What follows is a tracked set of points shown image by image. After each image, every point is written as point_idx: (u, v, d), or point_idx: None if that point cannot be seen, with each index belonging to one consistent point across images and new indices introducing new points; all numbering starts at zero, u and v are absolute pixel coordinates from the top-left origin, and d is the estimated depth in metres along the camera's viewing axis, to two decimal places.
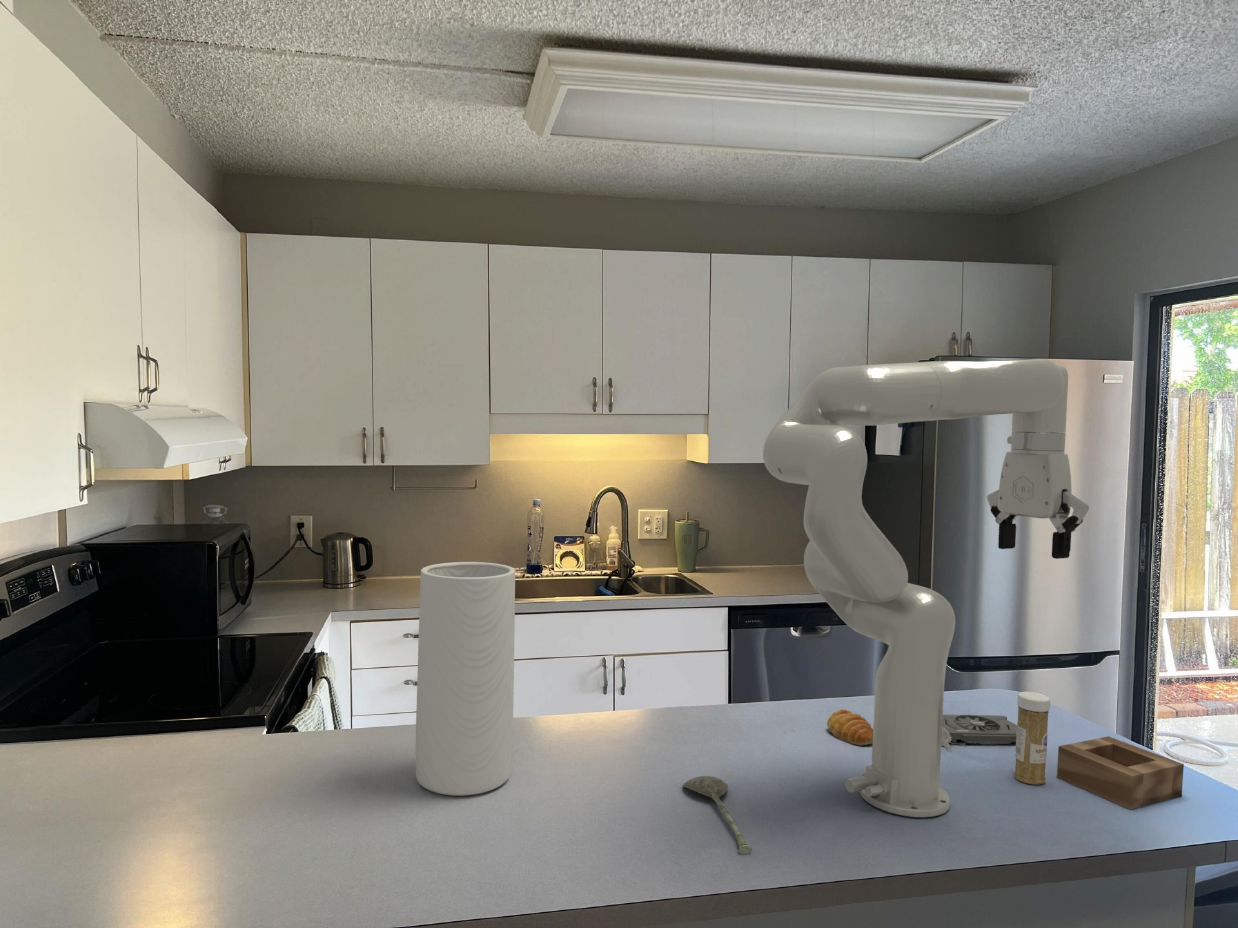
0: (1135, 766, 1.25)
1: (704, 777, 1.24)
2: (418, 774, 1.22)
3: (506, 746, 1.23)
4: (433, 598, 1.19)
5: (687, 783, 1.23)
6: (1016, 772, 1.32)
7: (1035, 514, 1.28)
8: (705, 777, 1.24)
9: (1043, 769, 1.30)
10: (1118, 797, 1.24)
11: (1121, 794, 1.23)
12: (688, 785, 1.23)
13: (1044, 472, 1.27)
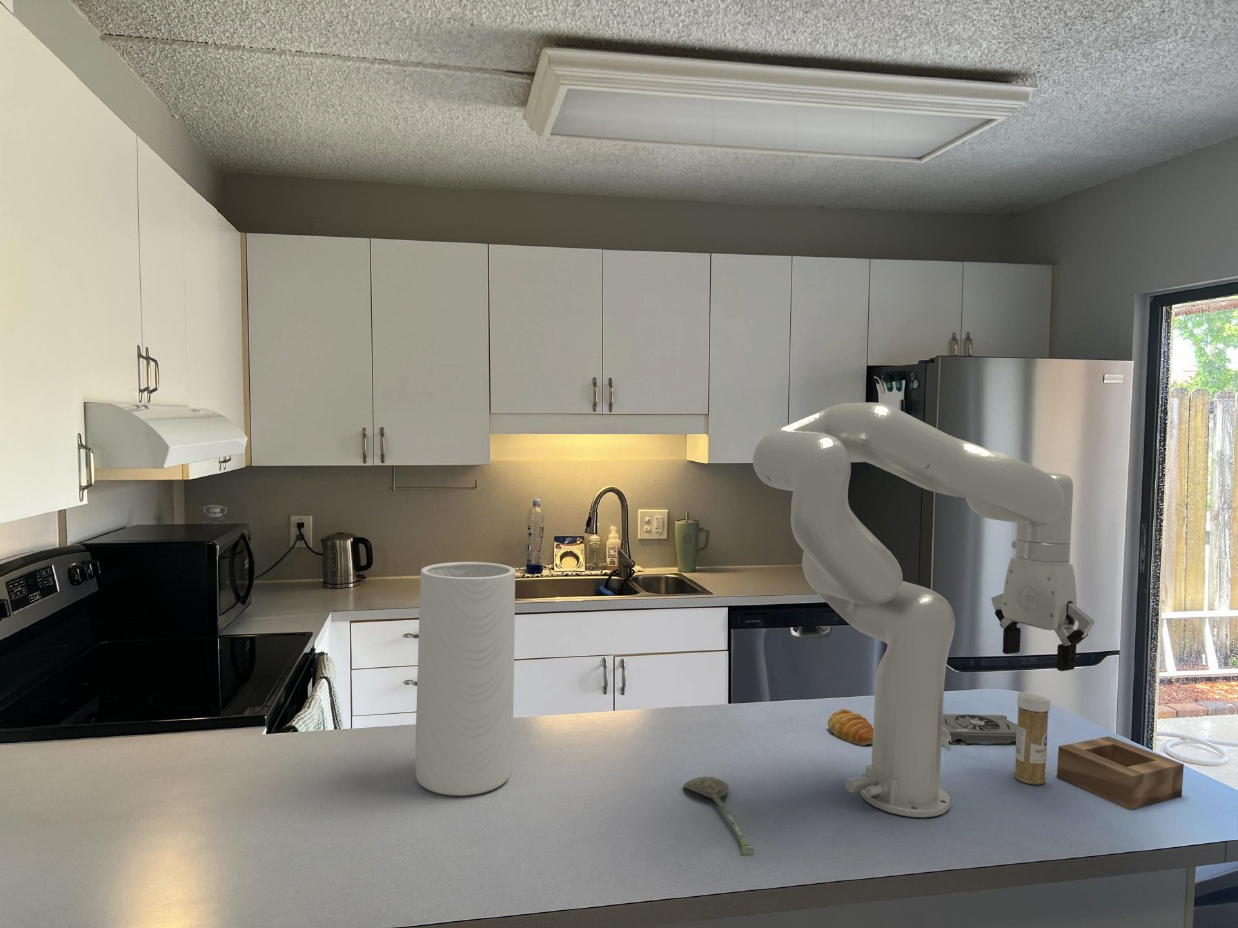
0: (1135, 766, 1.25)
1: (705, 778, 1.23)
2: (418, 774, 1.22)
3: (506, 746, 1.23)
4: (433, 598, 1.19)
5: (688, 784, 1.23)
6: (1016, 772, 1.32)
7: (1040, 625, 1.27)
8: (706, 778, 1.23)
9: (1043, 769, 1.30)
10: (1118, 797, 1.24)
11: (1121, 794, 1.23)
12: (689, 786, 1.22)
13: (1049, 583, 1.26)
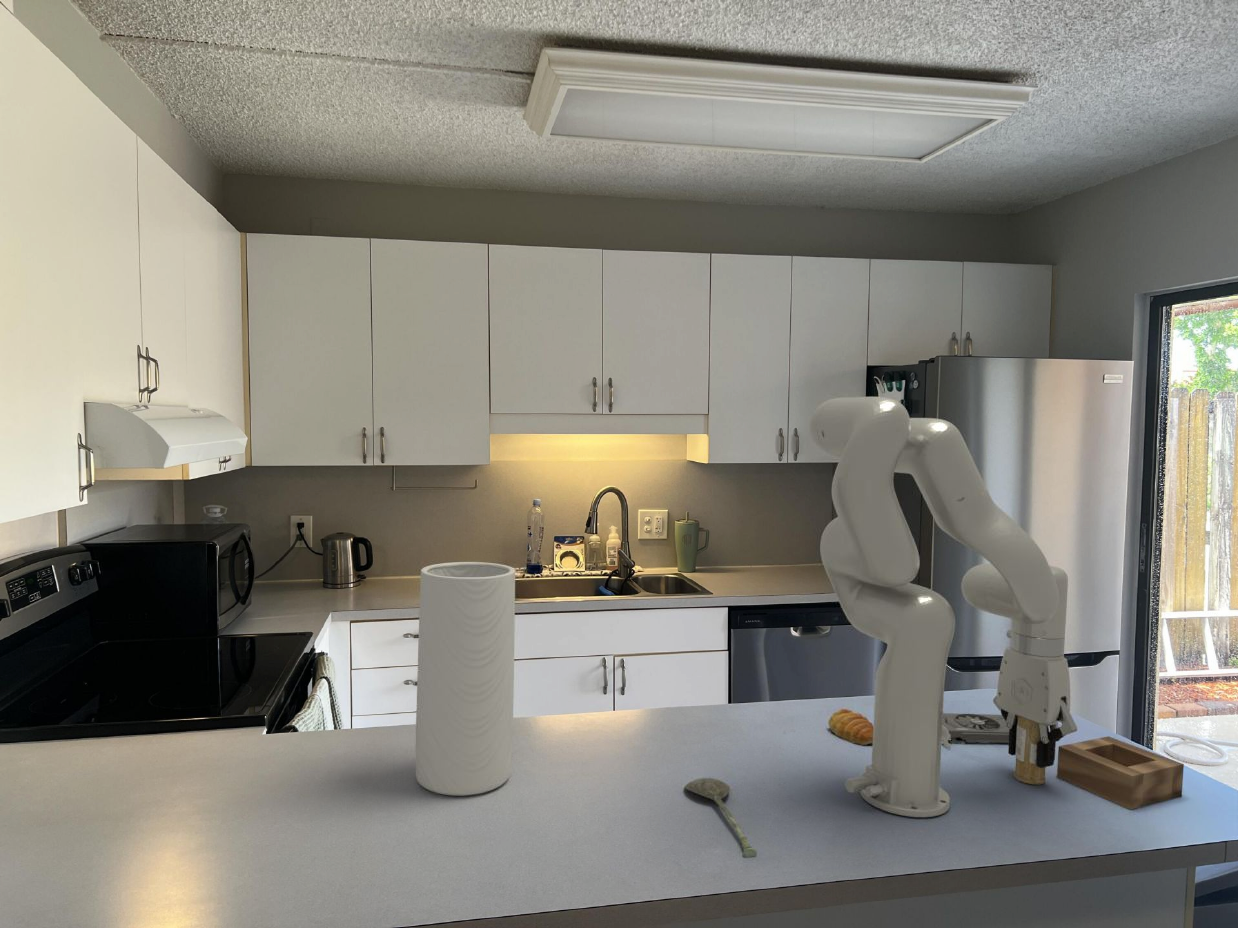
0: (1135, 766, 1.25)
1: (705, 779, 1.23)
2: (418, 774, 1.22)
3: (506, 746, 1.23)
4: (433, 598, 1.19)
5: (688, 785, 1.23)
6: (1016, 772, 1.32)
7: (1034, 719, 1.28)
8: (706, 779, 1.23)
9: (1043, 769, 1.30)
10: (1118, 797, 1.24)
11: (1121, 794, 1.23)
12: (690, 787, 1.22)
13: (1043, 678, 1.27)
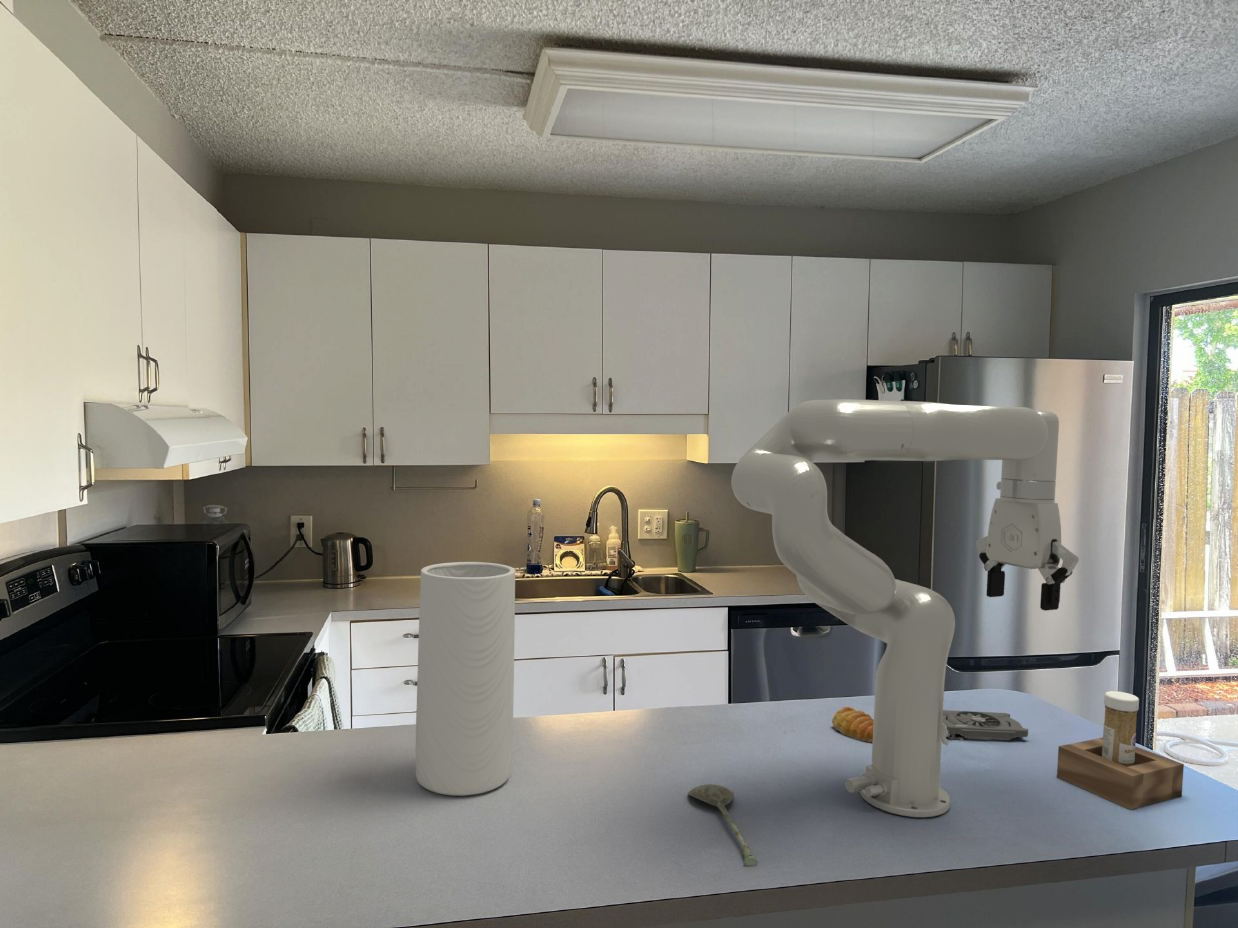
0: (1135, 766, 1.25)
1: (709, 785, 1.21)
2: (418, 774, 1.22)
3: (506, 746, 1.23)
4: (433, 598, 1.19)
5: (692, 791, 1.21)
6: None
7: (1024, 564, 1.25)
8: (710, 785, 1.21)
9: None
10: (1118, 797, 1.24)
11: (1121, 794, 1.23)
12: (693, 793, 1.20)
13: (1034, 521, 1.24)
